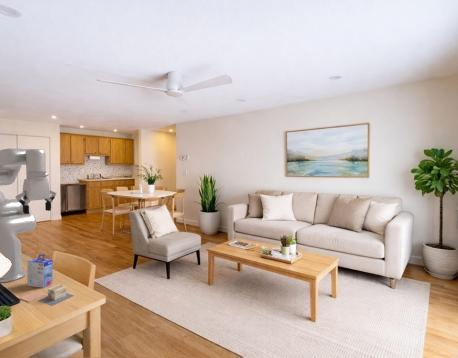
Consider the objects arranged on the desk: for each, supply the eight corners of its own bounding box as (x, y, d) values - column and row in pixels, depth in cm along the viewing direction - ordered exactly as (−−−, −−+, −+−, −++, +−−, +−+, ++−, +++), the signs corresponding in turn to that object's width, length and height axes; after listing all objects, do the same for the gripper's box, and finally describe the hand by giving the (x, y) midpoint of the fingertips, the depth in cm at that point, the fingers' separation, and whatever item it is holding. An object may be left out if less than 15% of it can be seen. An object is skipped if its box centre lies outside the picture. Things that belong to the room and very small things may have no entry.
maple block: (47, 297, 121) (47, 288, 121) (59, 292, 125) (58, 284, 125) (55, 300, 119) (54, 291, 119) (66, 295, 123) (66, 286, 123)
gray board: (37, 300, 118) (37, 300, 118) (60, 291, 127) (60, 290, 127) (52, 306, 114) (52, 305, 114) (74, 295, 123) (74, 295, 123)
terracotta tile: (19, 298, 120) (19, 297, 120) (36, 292, 126) (36, 291, 126) (29, 302, 117) (29, 301, 117) (46, 295, 123) (46, 294, 123)
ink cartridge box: (53, 283, 136) (53, 254, 135) (44, 288, 130) (43, 258, 129) (37, 281, 138) (36, 252, 137) (26, 286, 132) (26, 256, 131)
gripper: (50, 174, 137) (51, 208, 138) (10, 176, 121) (12, 214, 122) (59, 175, 134) (60, 210, 135) (20, 176, 118) (21, 215, 119)
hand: (37, 212), depth 129 cm, fingers open, 9 cm apart
